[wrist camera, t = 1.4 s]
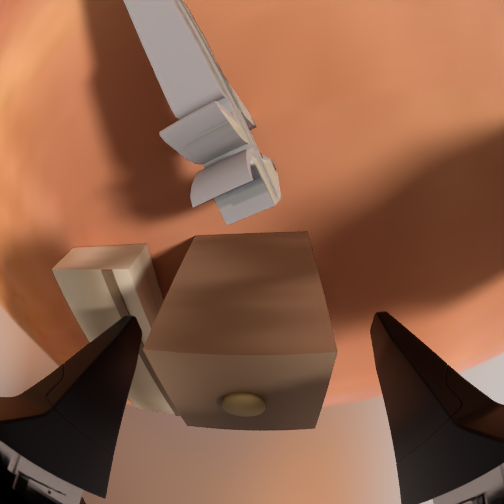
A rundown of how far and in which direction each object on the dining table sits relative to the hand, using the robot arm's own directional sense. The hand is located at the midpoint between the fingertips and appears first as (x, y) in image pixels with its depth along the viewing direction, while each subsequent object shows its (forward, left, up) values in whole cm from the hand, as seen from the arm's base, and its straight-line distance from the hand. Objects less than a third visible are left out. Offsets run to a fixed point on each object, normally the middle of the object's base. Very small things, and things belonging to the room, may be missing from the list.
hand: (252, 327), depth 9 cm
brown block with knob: (0, 0, -3) cm, 3 cm away
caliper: (+3, -14, -3) cm, 15 cm away
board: (+7, +4, -3) cm, 8 cm away
